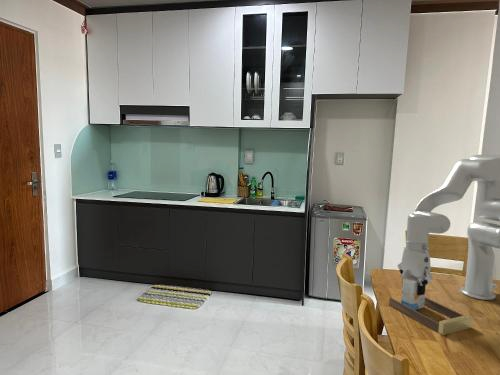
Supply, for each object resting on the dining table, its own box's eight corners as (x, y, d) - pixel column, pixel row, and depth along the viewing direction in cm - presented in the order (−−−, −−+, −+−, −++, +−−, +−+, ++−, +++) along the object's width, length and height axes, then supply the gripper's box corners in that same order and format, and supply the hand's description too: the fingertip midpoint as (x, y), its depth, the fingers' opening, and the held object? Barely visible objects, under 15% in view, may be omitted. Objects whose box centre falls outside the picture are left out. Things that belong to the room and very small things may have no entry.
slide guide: (415, 299, 141) (416, 290, 140) (471, 327, 119) (472, 316, 119) (389, 305, 135) (389, 295, 135) (442, 335, 114) (443, 323, 113)
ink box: (412, 312, 130) (415, 274, 128) (400, 307, 134) (402, 270, 132) (424, 307, 134) (427, 270, 133) (412, 302, 138) (415, 266, 137)
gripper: (443, 251, 125) (439, 298, 127) (405, 239, 141) (402, 281, 143) (428, 253, 122) (424, 301, 124) (391, 241, 138) (388, 284, 140)
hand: (413, 290), depth 133 cm, fingers open, 6 cm apart
